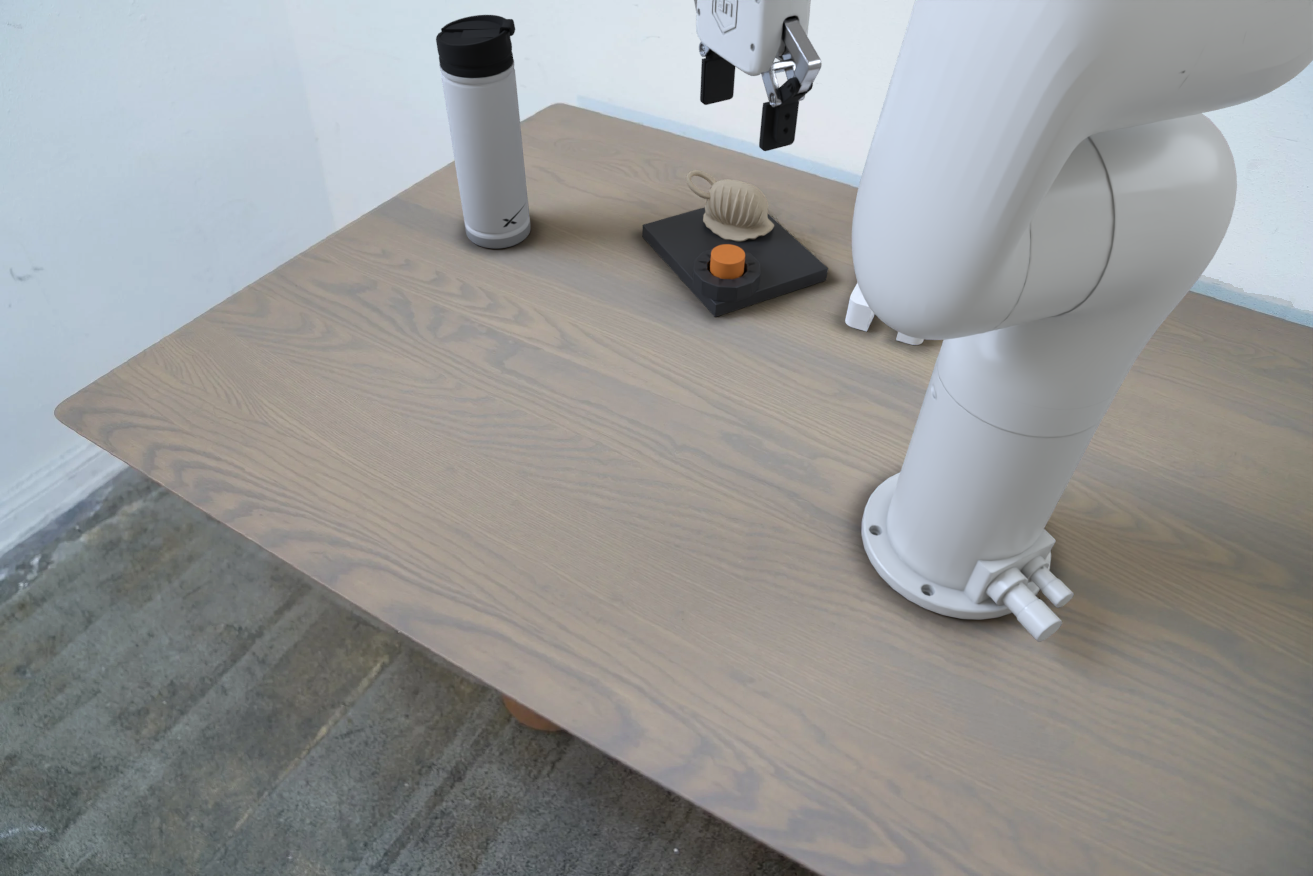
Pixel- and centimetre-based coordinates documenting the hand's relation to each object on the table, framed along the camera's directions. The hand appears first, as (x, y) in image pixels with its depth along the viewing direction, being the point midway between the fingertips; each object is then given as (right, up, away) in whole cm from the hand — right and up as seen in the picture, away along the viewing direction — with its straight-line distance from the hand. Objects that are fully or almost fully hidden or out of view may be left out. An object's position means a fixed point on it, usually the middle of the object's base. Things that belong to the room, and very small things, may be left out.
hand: (745, 122), depth 78 cm
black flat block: (-1, -10, +7) cm, 13 cm away
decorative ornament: (-1, -7, +9) cm, 11 cm away
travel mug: (-23, -7, +10) cm, 26 cm away
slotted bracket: (+15, -14, +4) cm, 21 cm away
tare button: (-2, -13, +2) cm, 13 cm away
